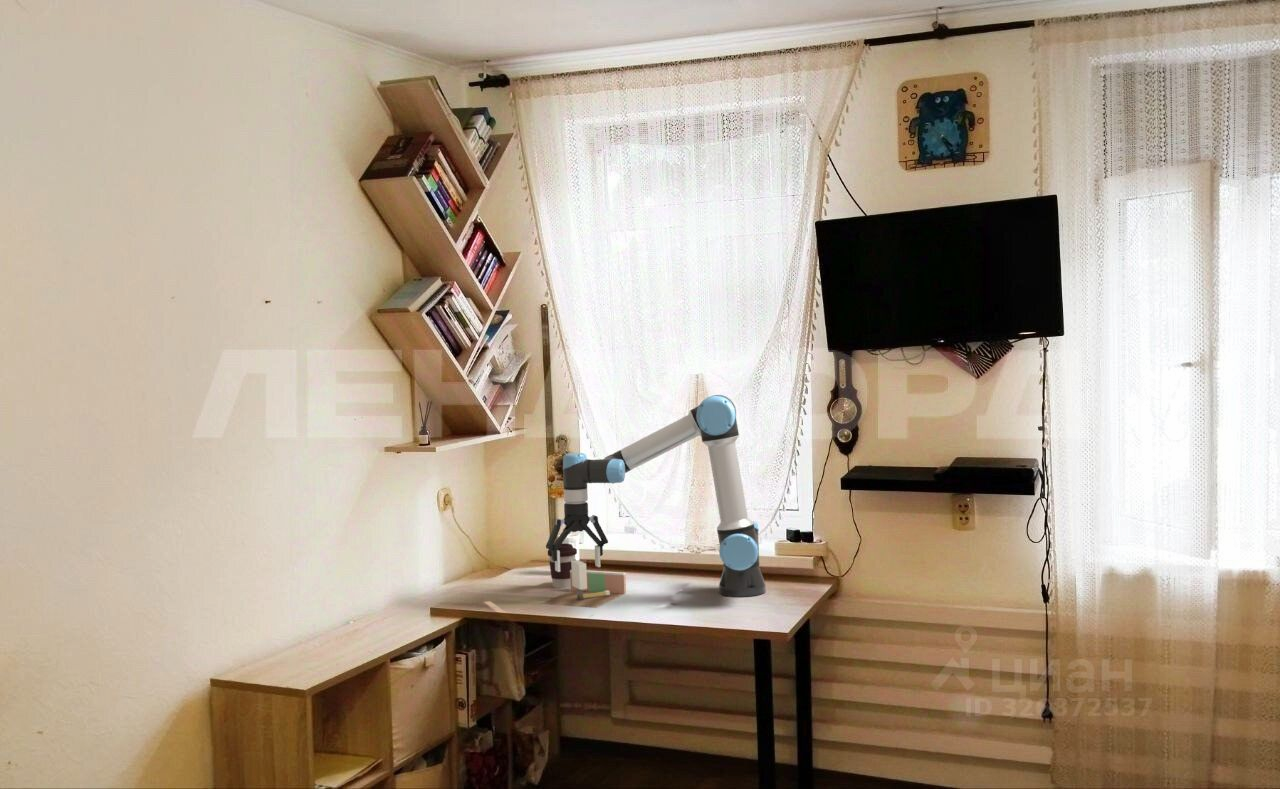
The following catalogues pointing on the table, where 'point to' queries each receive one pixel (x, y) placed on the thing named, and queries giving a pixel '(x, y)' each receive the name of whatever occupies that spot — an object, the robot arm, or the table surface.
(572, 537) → the cup
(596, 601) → the board
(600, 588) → the scale wall
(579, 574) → the white block with rod
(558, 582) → the coffee cup
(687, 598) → the table surface
